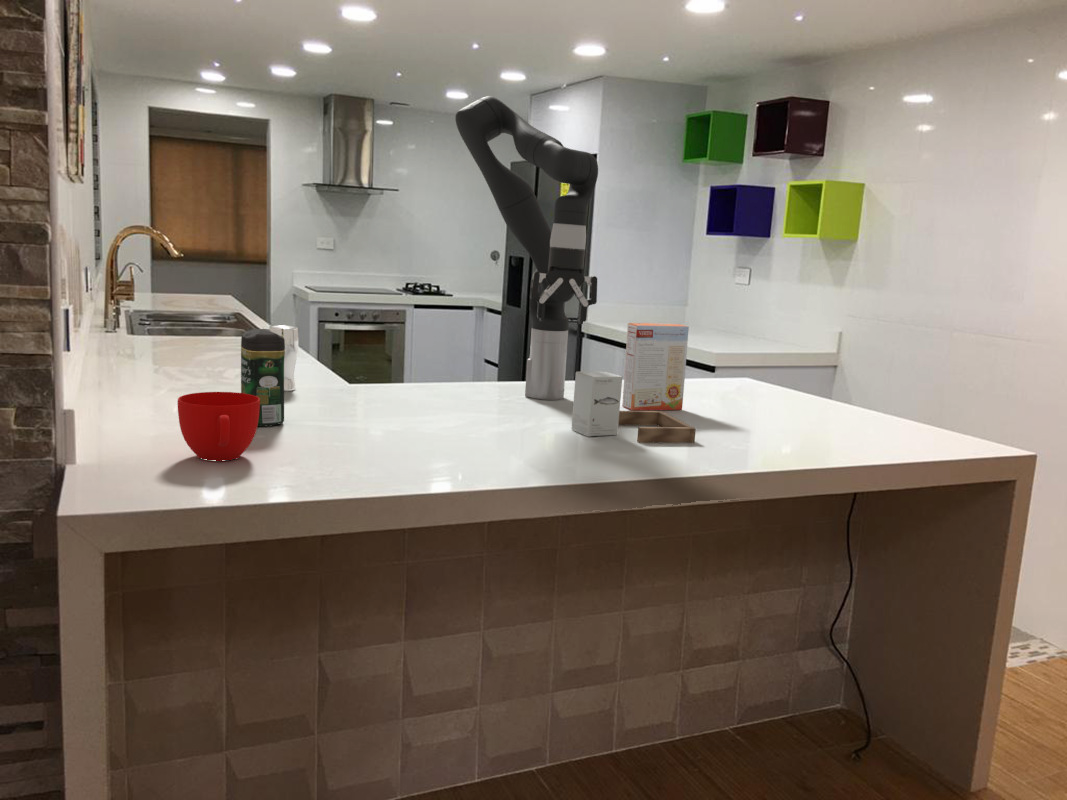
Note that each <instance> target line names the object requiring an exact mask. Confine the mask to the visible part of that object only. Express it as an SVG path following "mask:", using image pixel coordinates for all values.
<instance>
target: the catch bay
mask: <svg viewBox="0 0 1067 800" xmlns="http://www.w3.org/2000/svg"><path fill="white" fill-rule="evenodd" d="M618 426H638V427H637V439H636V442H638V443H640V444H642V443H643V444H644V443H645V444H646V443H650V444H651V443H660V444H661V443H663V444H664V443H665V444H666V443H667V444H668V443H670V444H672V443H673V444H678V443H679V444H685V443H686V444H690V443H691V444H692V443H693V444H695V439H696V430H697V428H696V427H694V426H691V425H689V424H688V423H686V422H684V421H682V420H680V419H678V418H676V417H674V416H672V415H670V414H669V413H666V412H665V411H663V410H637V411H632V410H620V411H619V423H618Z"/></svg>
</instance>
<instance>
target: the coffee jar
mask: <svg viewBox="0 0 1067 800" xmlns="http://www.w3.org/2000/svg"><path fill="white" fill-rule="evenodd" d="M240 340H241V341H240V393H245V394H250V395H254V396H257V397H258V398H259V399H260V410H259V420H258V426H260V427H264V428H266V427H274V426H276V425H282V424H283V423H284V422H285V391H284V358H285V340H284V338H283V337H282V336H280V335H278V334H276V333H274V332H272V331H270V330H269V328H268V329H267V328H249V329H248V330H246V331H245V332H243V333H242V334H241V339H240ZM258 426H257V427H258Z"/></svg>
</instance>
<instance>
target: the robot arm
mask: <svg viewBox="0 0 1067 800" xmlns="http://www.w3.org/2000/svg"><path fill="white" fill-rule="evenodd" d="M454 119H455V123H456V124H455V125H456V128H457V131H458V132H459V135H460V137H461V139H462V140H463V143H464V144H465V146H466V147H467V150H468V152H469V153H470V155H471V157H472V158H473V160H474V161H475V163H476V164H477V167H478V168H479V170H480V172H481V174H482V175H483V178H484V180H485V182H486V184H487V185H488V186H487V187H488V188H489V191H490V192H491V194H492V197H493V199H494V201H495V203H496V206H497V208H498V210H499V213H500V215H501V217H502V219H503V220H504V223H505V225H506V226H507V228H508V229H509V231H510V233H511V234H512V235H513V236H514V237H515V239H516V240H517V241H518V243H520V245H521V246H522V247H523V248H524V250H525V251H526V253H528V255H529V256H530V258H531V260H532V261H533V265H534V266H535V267H534V268H535V269H534V271H533V272H532V275H531V278H530V279H531V280H530V284H529V285H530V286H529V287H530V288H529V317H530V320H531V332H530V333H531V335H530V346H529V348H530V350H529V358H527V360H526V372H525V373H526V375H525V376H526V377H525V387H524V388H525V391H524V393H525V394H524V396H525V397H527V398H528V397H529V398H532V399H536V400H548V401H549V400H550V401H551V400H552V401H555V400H562V399H564V396H565V384H566V383H565V382H566V367H567V356H568V354H567V353H568V338H569V337H568V336H569V323H570V322H569V318H568V317H567V315H566V313H565V311H564V303H567V302H569V301H570V300H571V299H572V298H573V297H574V296H575V297H576V299H577V300H578V302H579V304H580V305H579V306H578V307H579V309H578V317H577V318H578V319H577V323H578V324H579V325H583V324H584V322H586V321H587V314H588V307H590V306H592V305H595V304H597V300H598V298H597V297H598V277H597V276H595V275H591V276H585V275H584V266H585V265H584V263H585V255H586V254H585V253H586V243H587V229H586V228H587V220H588V219H587V218H588V217H587V216H588V207H589V204H590V201H591V198H592V196H593V192H594V190H595V187H596V185H597V181H598V175H599V165H598V161H597V159H596V157H595V156H594V155H593V154H592V153H590V152H587V151H582V150H578V149H577V150H576V149H572V148H569V147H566V146H564V145H563V144H562V142H561V141H559V140H558V139H557V138H555V137H553V136H551V135H549V134H547V133H545V132H543V131H541V130H539V129H538V128H536V127H534V126H533V125H531V124H530V123H528V122H527V121H526V120H525V119H524V118H523V117H522V116H520V115H519V114H518V113H517V112H515V111H514V110H513V109H512V108H510V107H509V106H508V105H507V104H505V102H502V101H501V100H500V99H498V98H496V97H495V96H492V95H487V96H484V97H480V98H478V99H476V100H475V101H473V102H471V103H469V104H468V105H466V106H464V107H462V108H460V109H459V110H458V111H457V112H456V113H455V118H454ZM501 134H507V135H510V136H512V139H513V144H514V146H515V149H516V152H517V153H518V154H519V156H520V157H521V158H522V159H523V160H525V161H527V162H528V163H529V164H531V165H534V166H535V167H537V168H539V169H541V170H542V171H543V172H544V173H545V174H546V175H548V176H549V178H551V179H553V180H555V181H557V182H559V183H561V184H567V185H570V186H569V189H568V191H567V194H566V195H560V196H558V197H556V199H555V202H554V208H553V219H552V220H553V221H552V222H553V223H552V227H551V228H550V227H549V224H548V222H547V219H546V217H545V214H544V213H543V210H542V207H541V205H540V203H539V201H538V198H537V196H536V195H535V192H534V190H533V188H532V186H531V184H530V183H529V182H528V181H527V180H526V179H524V178H523V177H522V176H521V175H519V174H518V173H516V172H515V171H513V170H511V169H510V168H508V167H507V166H505V165H504V164H503V163H502V162H500V160H499V159H498V158H497V156H496V155H495V154H494V152H493V150H492V149H491V147H490V145H489V143H488V142H491V141H492V140H494V139H495V138H497V137H499V136H501ZM584 282H585V283H586V286H588V288H589V291H588V294H589V297H588V299H587V298H586V297H585V295H584V293H583V292H582V290H581V289H580V287H582V285H583V284H584Z"/></svg>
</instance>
